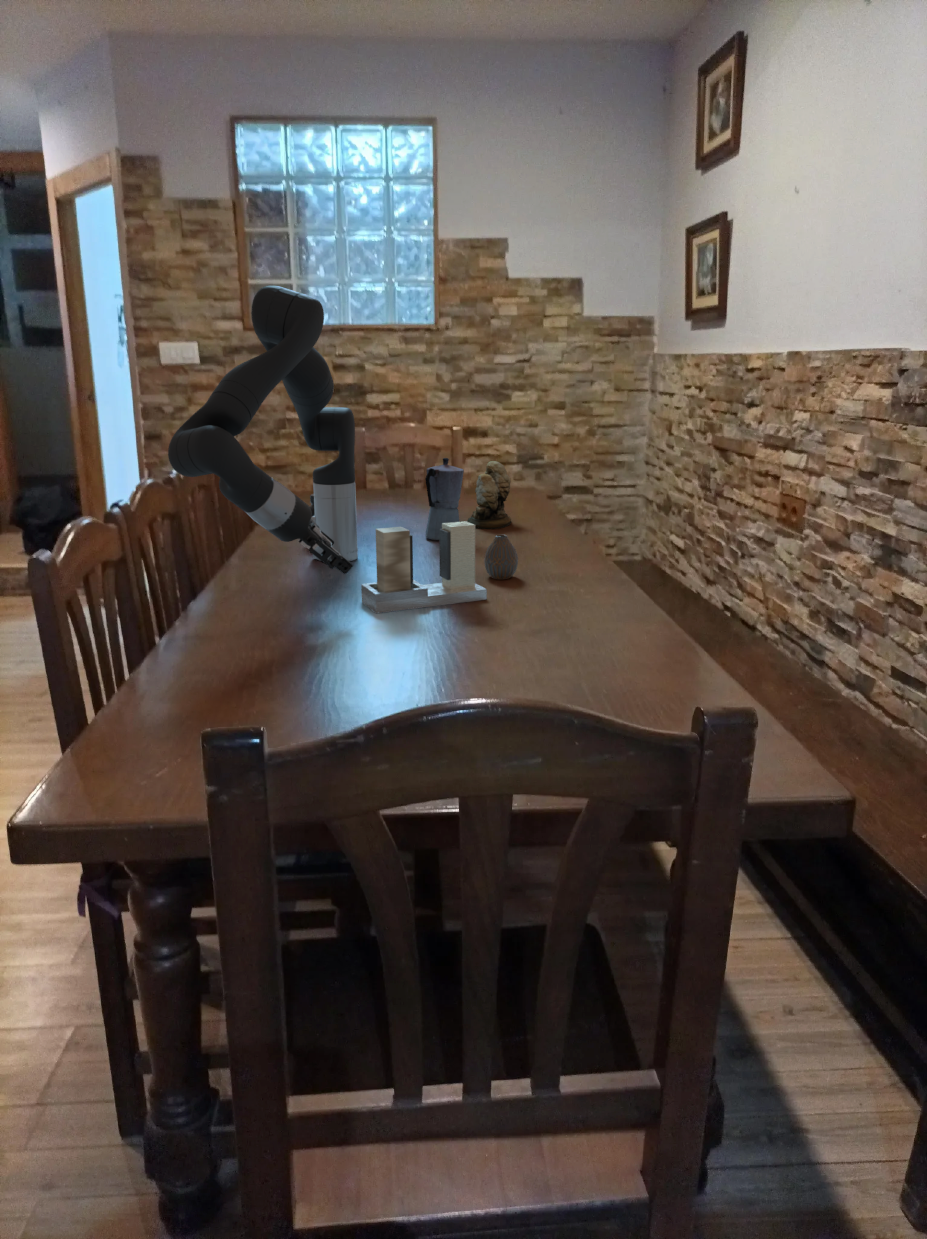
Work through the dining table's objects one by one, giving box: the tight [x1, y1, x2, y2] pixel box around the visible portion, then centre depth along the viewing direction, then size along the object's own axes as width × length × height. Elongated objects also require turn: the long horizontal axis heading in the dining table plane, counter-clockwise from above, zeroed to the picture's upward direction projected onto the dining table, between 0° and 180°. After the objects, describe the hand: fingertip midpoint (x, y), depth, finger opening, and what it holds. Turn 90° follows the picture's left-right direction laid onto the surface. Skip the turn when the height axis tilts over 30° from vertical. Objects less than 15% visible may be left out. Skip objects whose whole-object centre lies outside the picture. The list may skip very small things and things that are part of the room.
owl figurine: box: [466, 460, 512, 530], centre depth 235 cm, size 18×12×17 cm, turn 169°
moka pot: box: [424, 457, 465, 541], centre depth 214 cm, size 10×15×20 cm, turn 155°
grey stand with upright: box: [360, 520, 488, 614], centre depth 160 cm, size 22×8×14 cm, turn 115°
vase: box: [484, 534, 519, 580], centre depth 178 cm, size 7×7×9 cm
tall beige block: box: [375, 526, 414, 592], centre depth 157 cm, size 6×4×12 cm
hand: (339, 557), depth 154 cm, fingers open, 8 cm apart
